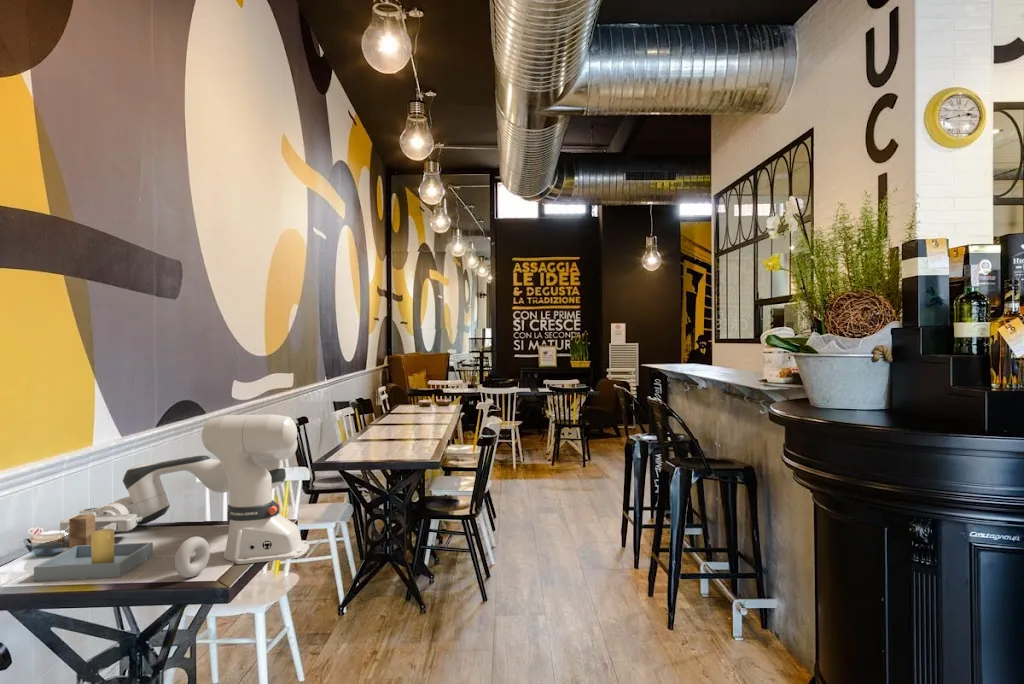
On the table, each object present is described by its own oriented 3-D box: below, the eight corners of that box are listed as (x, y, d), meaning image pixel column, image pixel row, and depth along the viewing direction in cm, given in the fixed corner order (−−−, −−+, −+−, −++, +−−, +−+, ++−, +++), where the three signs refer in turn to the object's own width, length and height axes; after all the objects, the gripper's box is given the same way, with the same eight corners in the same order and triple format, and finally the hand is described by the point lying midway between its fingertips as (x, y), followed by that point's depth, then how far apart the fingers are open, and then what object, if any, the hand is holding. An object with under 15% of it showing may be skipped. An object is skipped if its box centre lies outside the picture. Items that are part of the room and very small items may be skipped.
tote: (152, 554, 177) (152, 542, 177) (119, 577, 159) (119, 563, 159) (76, 558, 175) (76, 545, 175) (33, 581, 157) (33, 567, 157)
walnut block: (95, 548, 183) (95, 514, 183) (86, 553, 179) (85, 518, 179) (79, 549, 183) (78, 515, 183) (69, 554, 178) (69, 519, 179)
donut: (182, 584, 153) (181, 543, 153) (171, 583, 154) (170, 542, 155) (213, 570, 163) (212, 532, 163) (202, 569, 164) (202, 531, 164)
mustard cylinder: (118, 566, 166) (118, 528, 166) (107, 573, 161) (107, 533, 161) (98, 567, 165) (98, 529, 165) (87, 573, 160) (87, 534, 160)
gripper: (145, 527, 197) (122, 540, 184) (76, 530, 195) (48, 543, 182) (145, 507, 197) (122, 519, 184) (76, 509, 196) (47, 522, 182)
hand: (84, 531), depth 183 cm, fingers open, 8 cm apart
